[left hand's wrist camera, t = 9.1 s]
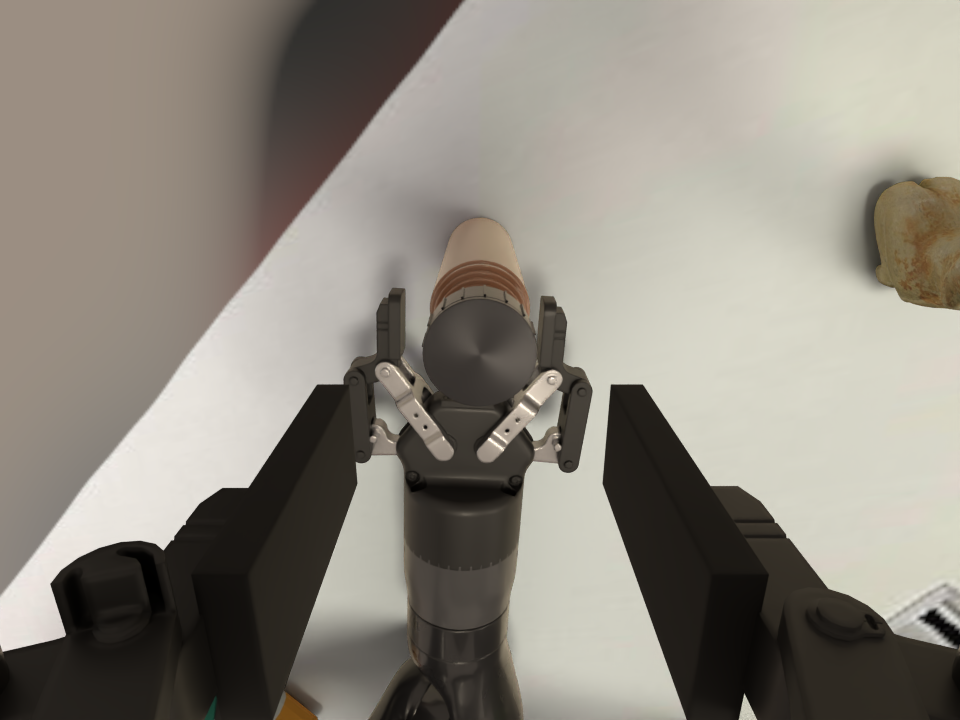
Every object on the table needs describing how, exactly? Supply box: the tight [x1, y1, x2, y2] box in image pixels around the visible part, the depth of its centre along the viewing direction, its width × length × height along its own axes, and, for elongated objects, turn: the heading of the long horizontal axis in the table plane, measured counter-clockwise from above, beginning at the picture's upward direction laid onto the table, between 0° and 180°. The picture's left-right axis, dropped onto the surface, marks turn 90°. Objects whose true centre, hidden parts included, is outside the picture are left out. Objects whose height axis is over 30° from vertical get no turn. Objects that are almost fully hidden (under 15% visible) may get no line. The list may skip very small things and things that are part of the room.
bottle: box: [430, 218, 530, 316], centre depth 29 cm, size 4×4×20 cm
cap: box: [422, 285, 538, 406], centre depth 21 cm, size 4×4×2 cm
